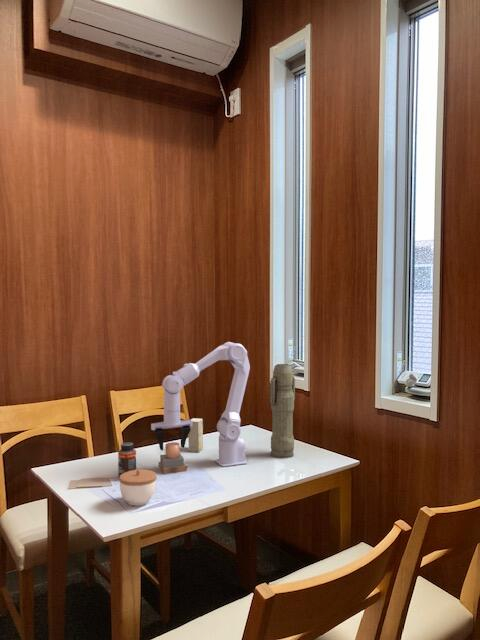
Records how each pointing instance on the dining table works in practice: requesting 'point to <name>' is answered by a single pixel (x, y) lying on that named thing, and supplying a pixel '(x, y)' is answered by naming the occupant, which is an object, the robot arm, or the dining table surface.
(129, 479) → the lidded jar
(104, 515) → the dining table surface
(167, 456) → the terracotta cylinder
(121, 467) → the supplement bottle
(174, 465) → the grey flat block
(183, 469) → the walnut slab
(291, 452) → the thermos
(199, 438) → the skincare box
